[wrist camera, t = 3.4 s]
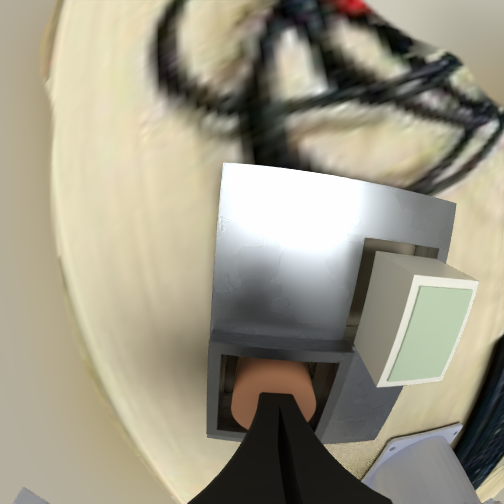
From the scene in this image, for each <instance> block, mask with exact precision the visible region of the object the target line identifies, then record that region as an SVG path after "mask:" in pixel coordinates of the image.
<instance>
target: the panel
mask: <svg viewBox="0 0 504 504" xmlns="http://www.w3.org/2000/svg"><path fill="white" fill-rule="evenodd" d="M455 210H456V203H453V202H449V201H446V200H442V199H439V198H435V197H431V196H427V195H423V194H419V193H415V192H411V191H407V190H402V189H398V188H394V187H389V186H384V185H380V184H375V183H370V182H365V181H360V180H354V179H349V178H343V177H338V176H332V175H325V174H319V173H313V172H306V171H299V170H291V169H284V168H275V167H267V166H257V165H247V164H237V163H224V162H223V172H222V181H221V191H220V202H219V213H218V224H217V236H216V249H215V262H214V277H213V292H212V309H211V328H210V340H209V349H208V378H207V437H208V438H214V439H222V440H230V441H239V442H242V441H243V439H244V437H245V435H246V433H247V432H248V429H246V428H244V427H243V426H241V425H240V424H239V423H238V422H237V421H236V420H235V418H234V417H233V415H232V411H231V404H232V397H233V393H226V392H224V379H225V365H226V355H233V356H242V357H251V358H261V359H273V360H286V361H303V362H317V366H316V369H315V373H314V377H313V380H312V386H313V391H314V395H315V400H316V409H315V412H314V414H313V416H312V417H311V419H310V420H309V421H308V424H309V425H310V427H311V429H312V430H313V432H314V433H315V435H316V436H317V437H318V439H319V440H320V441H321V443H322V444H336V443H349V442H360V441H369V440H375V438H376V437H377V435H378V433H379V431H380V430H381V428H382V426H383V425H384V423H385V421H386V419H387V417H388V416H389V414H390V412H391V410H392V408H393V406H394V404H395V402H396V400H397V398H398V396H399V394H400V392H401V390H402V388H403V386H404V385H401V386H390V387H376V385H375V383H374V381H373V379H372V377H371V375H370V374H369V372H368V370H367V368H366V366H365V364H364V362H363V360H362V358H361V356H360V355H359V353H358V351H357V349H356V347H355V345H354V340H355V337H356V333H357V330H358V327H356V326H346V324H347V320H348V316H349V312H350V308H351V304H352V300H353V295H354V291H355V286H356V282H357V277H358V272H359V267H360V262H361V257H362V252H363V246H364V240H365V237H367V238H374V239H381V240H388V241H395V242H401V243H408V244H414V245H417V246H416V251H415V256H419V257H426V258H433V259H437V260H439V261H441V262H443V263H445V264H446V260H447V256H448V251H449V246H450V241H451V236H452V230H453V224H454V217H455Z"/></svg>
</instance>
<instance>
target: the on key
mask: <svg viewBox="0 0 504 504" xmlns="http://www.w3.org/2000/svg"><path fill="white" fill-rule="evenodd" d="M478 284H479V281H478V280H476V279H474V278H472V277H470V276H469V275H467V274H465V273H463V272H461V271H459V270H457V269H455V268H453V267H451V266H449V265H447V264H445V263H443V262H441V261H439V260H437V259H433V258H426V257H419V256H412V255H404V254H397V253H389V252H381V251H376V254H375V259H374V264H373V269H372V274H371V278H370V283H369V287H368V291H367V296H366V300H365V304H364V308H363V312H362V315H361V319H360V323H359V326H358V330H357V333H356V337H355V340H354V345H355V347H356V349H357V351H358V353H359V355H360V356H361V358H362V360H363V362H364V364H365V366H366V368H367V370H368V372H369V374H370V375H371V377H372V379H373V381H374V383H375V385H376V387H390V386H401V385H411V384H420V383H428V382H435V381H441V380H442V378H443V376H444V374H445V372H446V370H447V368H448V366H449V364H450V362H451V359H452V357H453V355H454V352H455V350H456V348H457V345H458V343H459V340H460V338H461V335H462V333H463V330H464V327H465V325H466V322H467V319H468V316H469V313H470V310H471V307H472V304H473V301H474V298H475V294H476V291H477V288H478Z"/></svg>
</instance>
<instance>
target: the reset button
mask: <svg viewBox="0 0 504 504" xmlns="http://www.w3.org/2000/svg"><path fill="white" fill-rule="evenodd" d="M262 392H269V393H285V394H292V395H293V396H294V398H295V400H296V402H297V404H298V406H299V408H300V410H301V412H302V414H303V415H304V417H305V419H306V421H307V422H308V421H309V420H310V419H311V417H312V416H313V414H314V412H315V409H316V400H315V395H314V391H313V386H312V382H311V378H310V373H309V369H308V365H307V362H303V361H286V360H273V359H261V358H251V357H242V356H240V358H239V359H238V362H237V367H236V375H235V382H234V389H233V397H232V404H231V411H232V415H233V417H234V418H235V420H236V421H237V422H238V423H239V424H240V425H241V426H243V427H244V428H246V429H248V430H249V428H250V425H251V423H252V421H253V418H254V416H255V413H256V410H257V405H258V399H259V394H260V393H262Z"/></svg>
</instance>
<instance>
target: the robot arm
mask: <svg viewBox="0 0 504 504" xmlns="http://www.w3.org/2000/svg"><path fill="white" fill-rule="evenodd" d="M462 426H463V425H462V424H461V423H458V424H454V425H451V426H447V427H444V428H440V429H436V430H432V431H428V432H424V433H419V434H415V435H410V436H404V437H399V438H394V439H392V440H391V441H390V442H389V443H388V444H387V446H386V447H385V449H384V450H383V452H382V453H381V455H380V456H379V457H378V459H377V460H376V462H375V463H374V464H373V466H372V467H371V468H370V470H369V471H368V472H367V474H366V475H365V476H364V478H363V479H362V480H361V481H360V480H358V479H357V478H356V477H355V476H353V475H352V474H351V473H350V472H349V471H347V470H346V469H345V468H344V467H343V466H342V465H341V464H340V463H339V462H338V461H337V460H336V459H335V458H334V457H333V456H332V455H331V454H330V453H329V451H328V450H327V449H326V448H325V447H324V445H323V444H322V443H321V441H320V440H319V439H318V437H317V436H316V435H315V433H314V432H313V430H312V429H311V427H310V425H309V424H308V422H307V421H306V419H305V417H304V415H303V414H302V412H301V410H300V408H299V406H298V404H297V402H296V400H295V398H294V396H293V395H292V394H285V393H269V392H262V393H260V394H259V399H258V405H257V410H256V413H255V416H254V418H253V421H252V423H251V425H250V428H249V430H248V432H247V433H246V435H245V437H244V439H243V441H242V443H241V444H240V446H239V447H238V449H237V451H236V452H235V454H234V455H233V456H232V458H231V459H230V461H229V462H228V463H227V464H226V466H225V467H224V468H223V469H222V471H221V472H220V473H219V474H218V475H217V476H216V477H215V478H214V479H213V480H212V482H211V483H210V484H209V485H208V486H207V487H206V488H205V489H204V490H202V491H201V492H200V493H199V494H198V495H197V496H195V497H194V498H193V499H192V500H191V501H189V502H188V503H187V504H502V503H501V502H500V501H493V499H492V498H490V499H489V500H487V501H485V502H484V503H481V502H480V500H479V498H478V496H477V494H476V492H475V490H474V488H473V486H472V484H471V482H470V480H469V479H468V477H467V475H466V473H465V471H464V469H463V468H462V466H461V464H460V462H459V461H458V459H457V457H456V455H455V454H454V452H453V450H452V448H451V447H450V443H451V442H452V441H453V439H454V438H455V437H456V435H457V434H458V433H459V431H460V430H461V428H462ZM13 504H50V503H48V502H47V501H45V500H44V499H42V498H40V497H39V496H37V495H36V494H34V493H33V492H31V491H30V490H28V489H27V488H25V487H23V488H22V490H21V491H20V493H19V494H18V496H17V497H16V499H15V501H14V502H13Z"/></svg>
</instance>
